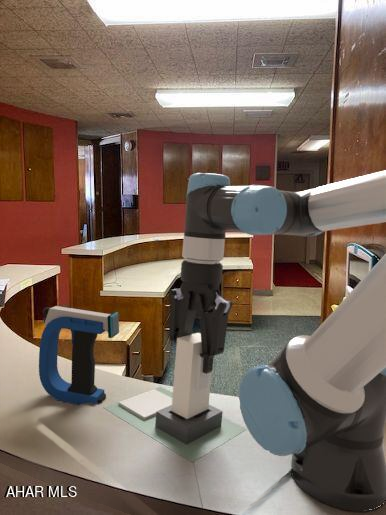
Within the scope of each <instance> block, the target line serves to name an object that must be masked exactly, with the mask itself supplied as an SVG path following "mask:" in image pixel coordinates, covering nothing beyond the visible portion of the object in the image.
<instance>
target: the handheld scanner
mask: <svg viewBox="0 0 386 515" xmlns="http://www.w3.org/2000/svg"><path fill="white" fill-rule="evenodd" d="M43 317H44V318H43V323H44V324H43V326H44V329H43V330H42V334H41V337H40V343H39V352H38V354H39V355H38V375H39V380H40V383H41V385H42V387H43V390H44V391H45V392H46V393H47V394H48V395H49V396H50V397H51V398H53V399H54V400H56V401H58V402H60V401H62V402H61V403H67V404H71V403H72V405H76V404H77V405H78V406H80V405H83V404H86V403H88V404H93V405H96V404H102V403H103V402H104V401H105V400H106V398H107V393H105V389H102V388H98V387H97V386H96V385H95V379H96V378H95V376H96V375H95V373H96V359H95V358H96V357H95V354H94V352H95V351H94V347H95V342H96V340H97V338H98V335H102V334H103V333H105V332H107V337H108V339H113V338H114V337H116V336H117V335H118V334H119V333H120V323H119V322H120V321H119V320H120V319H119V312H118V311H114V312H112V313H104V312H98V311H91V310H85V309H77V308H74V307H73V308H72V307H66V306H59V305H55V306H53V307H48V306H47V307H44V309H43ZM62 329H64V330H70V332H71V334H70V335H71V344H72V346H71V347H72V348H71V380H70V381H71V383H70V382H67V381H66V380H65V379H63V378H62V376H61V375H60V372H59V370H58V355H59V354H58V352H59V341H60V340H59V339H60V334H61V330H62ZM77 405H76V406H77Z"/></svg>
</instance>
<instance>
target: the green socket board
mask: <svg viewBox="0 0 386 515" xmlns="http://www.w3.org/2000/svg"><path fill="white" fill-rule="evenodd" d="M172 397H173V391H170V390H169V389H166V388H164V387H162V386H158V387H156V388H153V389H150V390H148V391H145V392H142V393H139V394H136V395H134V396H131V397H128V398H125V399H123V400H120V401H118V402H117V401H116V402H115V403H112V404H109V405H107V406H104V407H103V409H105V410H106V411H107V412H110V413H111V414H113V415H115V416H116V417H117V418H119V419H121V420H123V421H124V422H126V423H127V424H129V425H131V426H132V427H134V428H136V429H137V430H138V431H140V432H142V433H143V434H145V435H147V436H149V437H150V438H152V439H153V440H155V441H157V442H158V443H160V444H162V445H163V446H165V447H166V448H168V449H170V450H171V451H173V452H174V453H176V454H177V455H179V456H181V457H182V458H184V459H186V460H187V461H189V462H190V463H194V462H196V461H197V460H199V459H201V458H202V457H204V456H205V455H207V454H208V453H210V452H212V451H214V450H215V449H217V448H218V447H220V446H222V445H224V444H225V443H226V442H228V441H230V440H232V439H234V438H235V437H237V436H238V435H240V434H242V433H244V432H245V431H247V430H248V428H247V427H244V426H241V425H240V424H238V423H236V422H233V421H232V420H230V419H227V418H226V417H224V416H223V414H224V412H223V410H221V409H220V408H217V407H215V406H213V405H212V404H211V405H210V404H209V406H208V409H207V410H205V411H203V412H201V413H199V414H197V415H195V416H193V417H190V418H188V419H186V418H184V417H182V416H180V415H178V414H177V413H175V412H173V411H171V410H172Z"/></svg>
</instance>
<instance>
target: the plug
mask: <svg viewBox="0 0 386 515" xmlns="http://www.w3.org/2000/svg"><path fill="white" fill-rule="evenodd" d="M175 346H176V347H175V357H174V358H175V359H174V360H175V361H174V372H173V373H174V375H173V386H172V388H173V389H172V392H173V397H172V410H171V411H173V412H175V413H177V414H178V415H180V416H182V417H184V418H186V419H188V418H190V417H193V416H195V415H197V414H199V413H201V412H203V411H205V410H207V409H208V406H209V405H210V403H209V402H210V393H211V382H212V372H210V373H209V381H208V387H207V388H204V389H202V390H200V391H198V390H196V378H197V366H198V355H200V354H201V353H202V344H201V332H196V333H191V335H187V336H183V337H179V338H177V345H175Z"/></svg>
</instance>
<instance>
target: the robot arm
mask: <svg viewBox="0 0 386 515" xmlns="http://www.w3.org/2000/svg"><path fill="white" fill-rule="evenodd" d="M185 199H186V200H185V211H184V212H185V213H184V214H185V216H184V228H183V230H184V234H183V243H182V251H181V252H182V253H181V255H182V256H181V257H182V258H184V259H183V260H182V261H181V265H180V266H181V267H180V280H181V281H182V283H181V285H180V288H174V289H170V290H169V291H168V294H169V299H170V310H169V312H170V313H169V334H168V337H169V338H168V339H169V340H170V341H171V342H174V343H175V346H177V338H179V337H183V336H187V335H191V334H192V332H193V327H194V324H195V320H196V315H197V318H198V319H199V327H200V328H199V329H200V333H201V344H202V353H201V354H200V355H198V366H197V378H196V390H198V391H200V390H202V389H204V388H207V387H208V381H209V373H210V372H211V373H212V371H213V369H214V368H213V366H214V357H215V356H218V355H221V354H223V353H224V352H225V344H226V336H227V328H228V320H229V314H230V313H231V312H230V311H231V309H232V307H233V302H232V301H231V300H225V299H224V298H223V297H222V296H221V291H220V285H221V283H222V280H223V279H222V278H223V269H224V268H223V266H224V265H223V264H222V263H221V261H223V260H224V254H225V243H226V242H225V241H226V231H229V232H235V233H240V234H241V233H243V234H247V235H251V236H269V235H288V236H299V237H314V236H318V235H321V234H322V233H324V232H328V231H334V230H341V229H348V228H355V227H363V226H369V225H376V224H382V223H386V169H385V170H381V171H376V172H373V173H370V174H365V175H362V176H357V177H353V178H349V179H345V180H342V181H338V182H333V183H328V184H326V185H322V186H318V187H316V188H310V189H305V190H303V191H289V190H287V191H286V190H280V189H277V188H276V187H274V186H270V185H269V186H268V185H260V184H251V185H231V179H230V177H229V176H227V175H225V174H220V173H218V174H217V173H210V172H209V173H208V172H207V173H206V172H205V173H202V172H197V173H193V174H191V175H190V176H189V178H188V184H187V193H186V195H185ZM215 305H216V306H215ZM238 399H239V409H240V413H241V416H242V419H243V422H244V424H245V426H246V429H247V430H248V432H249V434H250V436H251V437H252V438H253V440H255V442H256V443H257V444H258V445H259V446H260V447H261V448H262V449H263V450H264V451H268V452H269V453H270V454H272V455H274V456H277V457H287V456H291V455H292V456H291V460H290V461H291V462H290V466H291V468H290V473H291V476H292V478H293V480H294V481H295V482H296V484H297V485H298V486H299V488H301V489H302V490H303V491H304V492H305V493H306V494H308V495H310V496H311V497H312V498H314V499H315V500H317V501H319V502H321V503H323V504H325V505H328V506H331V507H333V508H337V509H341V510H344V511H349V512H350V511H351V512H360V511H361V512H365V511H364V510H369V509H374V508H376V507H378V506H380V505H382V504H383V503H384V502H385V500H386V457H385V453H384V448H383V443H384V435H385V430H386V253H385V254H384V255H383V256H382V257H381V258H380V259H378V262H377V263H376V264H375V265H374V266H373V267H372V268H371V269H370V270H369V271H368V273H366V274H365V276H364V277H363V278H362V279H361V280H360V281H359V282H358V283H357V284H356V286H355V287H354V288H353V289H352V290H351V291H350V292H349V294H348V295H346V297H345V298H344V299H343V300H342V301H341V302H340V303H339V305H338V306H337V307H336V308H334V309H333V311H332V312H331V313H330V314H329V315H328V317H326V318H325V320H324V321H323V322H322V323H321V324H320V325H319V326H318V328H317V329H316V330H315V331H313V333H312V334H311V335H308V334H303V335H297V336H295V337H293V338H292V339H290V340H289V342H287V344H286V345H285V346H284V347H283V348H282V349H281V351H280V352H279V353H278V354H277V355H276V357H275V358H274V359H272V360H271V361H270V362H269V363H268V362H267V363H266V364H258V365H255V366H254V367H252V368H250V369H248V370H247V371H246V372H245V373H244V374H243V376H242V378H241V380H240V383H239V387H238ZM385 503H386V502H385ZM382 506H383V505H382Z"/></svg>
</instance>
